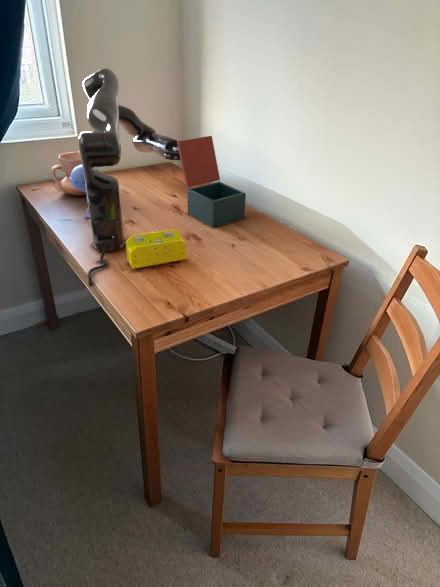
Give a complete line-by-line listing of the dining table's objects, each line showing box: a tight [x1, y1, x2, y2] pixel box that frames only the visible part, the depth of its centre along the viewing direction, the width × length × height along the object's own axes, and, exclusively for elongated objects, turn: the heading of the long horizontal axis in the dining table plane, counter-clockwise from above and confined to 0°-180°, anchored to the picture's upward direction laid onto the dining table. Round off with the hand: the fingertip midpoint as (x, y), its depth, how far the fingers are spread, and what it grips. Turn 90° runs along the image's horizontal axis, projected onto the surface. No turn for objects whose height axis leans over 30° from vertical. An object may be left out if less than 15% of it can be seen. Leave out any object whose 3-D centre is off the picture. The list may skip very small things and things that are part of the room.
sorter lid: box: [177, 135, 221, 189], centre depth 157 cm, size 15×14×1 cm
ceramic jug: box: [50, 150, 86, 196], centre depth 173 cm, size 18×14×14 cm
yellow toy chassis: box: [125, 228, 188, 269], centre depth 128 cm, size 16×6×8 cm, turn 114°
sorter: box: [186, 181, 247, 228], centre depth 157 cm, size 14×14×9 cm
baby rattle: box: [70, 165, 90, 219], centre depth 151 cm, size 9×9×18 cm
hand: (193, 158), depth 159 cm, fingers closed
